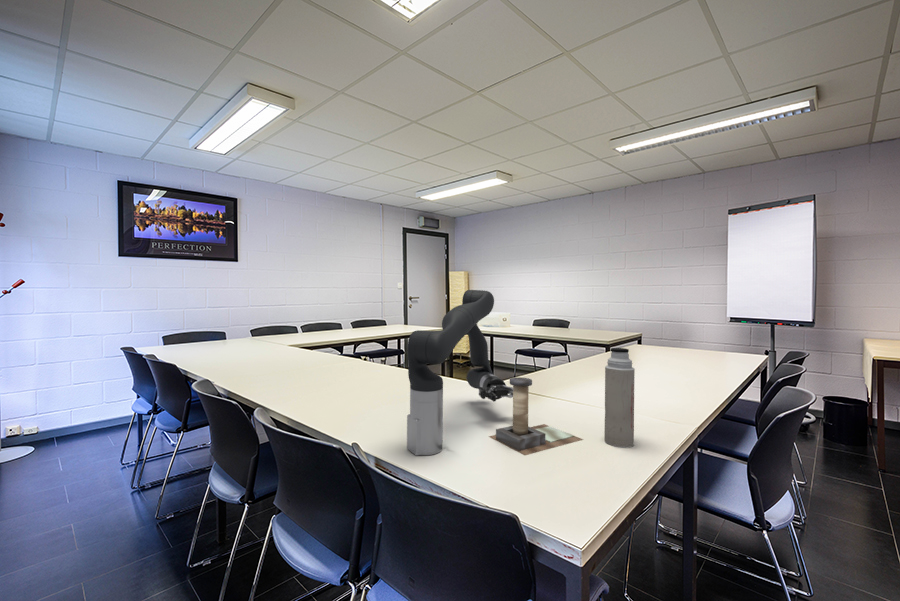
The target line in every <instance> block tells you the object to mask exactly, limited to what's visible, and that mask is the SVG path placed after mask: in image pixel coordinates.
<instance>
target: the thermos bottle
mask: <svg viewBox="0 0 900 601" xmlns="http://www.w3.org/2000/svg"><path fill="white" fill-rule="evenodd" d="M629 352H630V349H628V348H622V347H612V348H610V357H609V358H608V359H607V362H606V363H607V365H605V366H604V372H605V373H604V437H603V438H604V442H605V443H606V444H607V445H610V446H613V447H618V448H632V447H633V446H634V442H635V441H634V440H635V439H634V438H635V434H634V433H635V432H634V431H635V374H636V373H635V370H636V369H635V368H634V367H633V360H632V359H630V355H629V354H630V353H629Z"/></svg>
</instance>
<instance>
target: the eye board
mask: <svg viewBox="0 0 900 601" xmlns="http://www.w3.org/2000/svg"><path fill="white" fill-rule="evenodd" d="M488 438H490V439H492V440H494V441H495V442H497V443H500V444H501V445H504V446H505V447H508V448H509V449H512V450H514V451H515V452H517V453H519V454H520V455H523V456H528V455H532V454H537V453H540V452H543V451H547V450H551V449H554V448H558V447H561V446H564V445H565V446H566V445H569V444H572V443H573V444H574V443H576V442H579V441H583V440H584V438H581V437H578V436H576V435H574V434H571V433H569V432H567V431H564V430H562V429H558V428H556V427H553V426H551V425H548V424H545V423H543V424H540V425H539V424H538V425H533V426H528V434H527V435H522V436H518V435H516V434H514V433H513V425H511V426H509V425H508V426H504V427H499V428H496V429H495V434H493V435H488Z"/></svg>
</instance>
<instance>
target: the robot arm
mask: <svg viewBox="0 0 900 601" xmlns="http://www.w3.org/2000/svg"><path fill="white" fill-rule="evenodd" d="M461 301H462V303H461V304H460V305H457V306H455V307H453V308H451V309H450V310H449V311H448V312H447V313H446V314H445V315H444V316H443V318H442V321H441V328H442V330H418V329H417V330H414V331H412V333H410V335H409V338H408V340H407V350H406V351H407V353H406V354H407V366H408V367H407V369H408V370H407V371H408V372H407V374H408V375H407V376H408V381H409V390H410V391H409V414H407V415H406V449H407V450H408V451H410V452H411V453H412V454H413V455H415V456H430V455H436V454H439V453H440V452H442V451H443V443H444V441H443V439H444V438H443V433H444V432H443V428H444V426H443V425H444V421H443V420H444V418H443V417H444V380H443V378H442V376H441V375H439V374H437V373H435V372H433V371H432V370H431V369H430V368H429V367H428V365H440V364H443V363H444V362H445V361H447V359H448V358H449V356H450V355H451V354H452V352H453V351H454V349H455V347H456V346H457V345H458V344H459V342H460V341H461V340H462V339H463V338H464V337H465V336H466V335H467V336H468V341H469V359H470V363H471V364H472V365H473V366H475V367H476V366H477V367H478V368H472V369H469V370H468V372H467V373H466V381H467V383H468V385H469V386H470V387H471V388H474V389H477V390H478V396H479V397H480V398H481V400H482V399H483V400H485V399H486V398H487V399H488V400H491V401H492V402H497V400H500V399H502V398H509V399H513V386H507V384H506V382H505V381H504V380H503V379H502V378H500V377H498V376H497V375H496V374H494V372H493V370H492V368H491V365H490V361H489V347H488V341H487V339H486V337H485V335H484V334H483V332H482V331H481V329H480V328H479V325H478V323H479V322H480V321H481V320H483V319H484V318H486V317H487V316H489V315H490V313H492V311H493V309H494V306H495V298H494V295H493V293H492V292H491V291H488V290H482V289H479V290H478V289H467V290H465V292H464V293H463V296H462V300H461Z"/></svg>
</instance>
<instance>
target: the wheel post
mask: <svg viewBox="0 0 900 601" xmlns="http://www.w3.org/2000/svg"><path fill="white" fill-rule="evenodd" d="M509 384H510V386H512V387H513V397H512V426H513V433H514V434H516V435H518V436H522V435H527V434H528V427H529V387H531V386H532V385H533V380H532V378H528V377H517V376H516V377H510V378H509Z"/></svg>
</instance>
